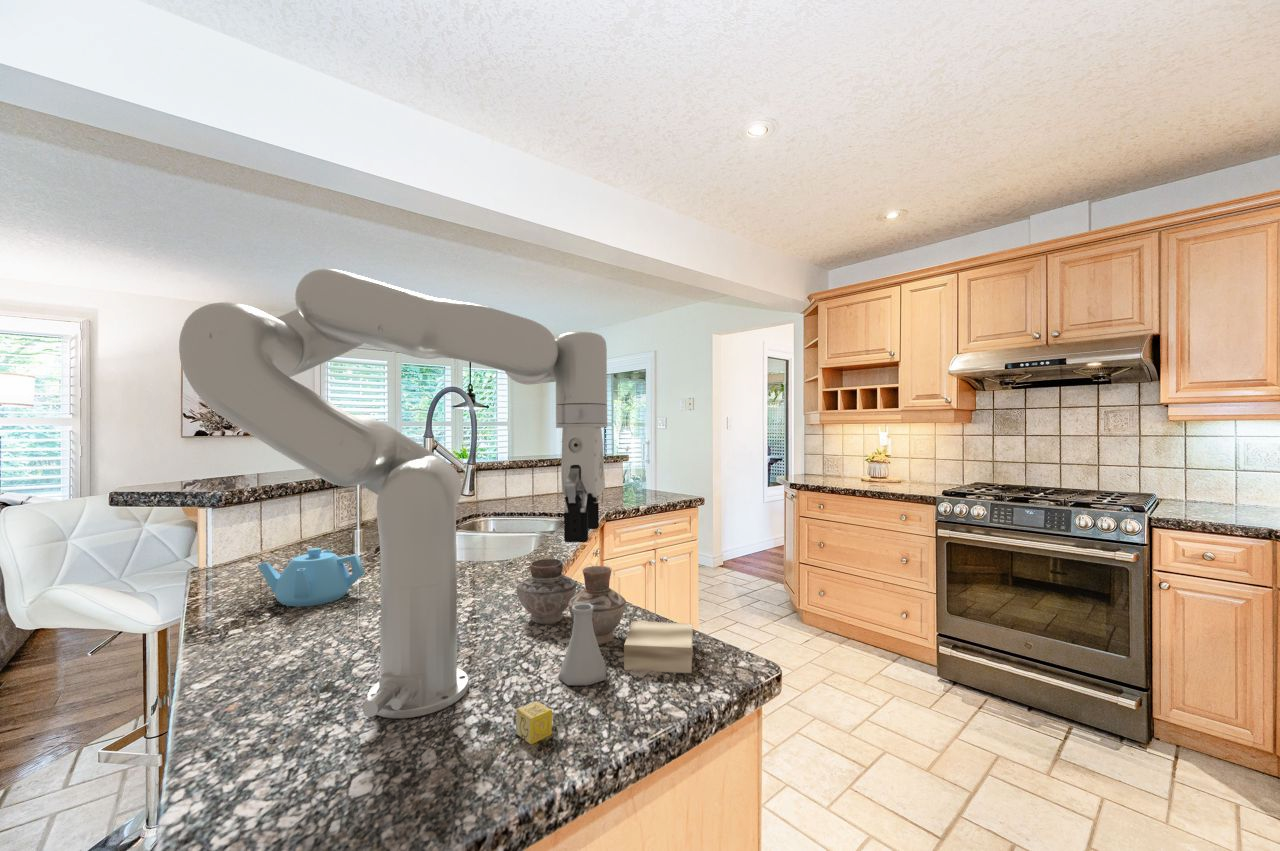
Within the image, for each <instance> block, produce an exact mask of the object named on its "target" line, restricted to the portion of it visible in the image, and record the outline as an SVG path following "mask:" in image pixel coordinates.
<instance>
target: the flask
mask: <svg viewBox="0 0 1280 851" xmlns="http://www.w3.org/2000/svg"><path fill="white" fill-rule="evenodd" d="M593 608H594V606H593V605H591V604H576V605H573V607H572V612H574V622H573V625H572V630H571V636H570V638H569V643H568V647H567V649H566V652H565V655H564V659H563V661H562V665H561V667H560V669H559V673H558V676H557V678H558V679H559V680H560V681H562V682H563V683H564V684H565V685H567V686H590V685H594V684H597V683H600V682H602V681H605V680H607V673H608V668H607V665H606V663H605V659H604V658H603V656H602V651H601V649H600V647H599V644H598V643H597V640H596V637H595V634H594V630H593V624H592V612H593Z"/></svg>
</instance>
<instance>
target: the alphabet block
mask: <svg viewBox="0 0 1280 851" xmlns="http://www.w3.org/2000/svg"><path fill="white" fill-rule="evenodd" d="M515 712H516V713H515V714H516V715H515V717H516V718H515V734H516V735H517V736H518V737H520V738H521V739H523V740H524V741H525V742H527V743H528V744H529V745H533V744H535V743H537V742H540V741H541V740H544V739H545V738H547V737H549V736H551V735H552V731H553V730H552V728H553V725H552V724H553V710H552V709H551V708H549V707H547V706H546V705H544V704H542V702H539V701H538V700H535V701H532V702H530V703H526V704H525V705H522V706H520V707H517V708H516V711H515Z"/></svg>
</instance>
